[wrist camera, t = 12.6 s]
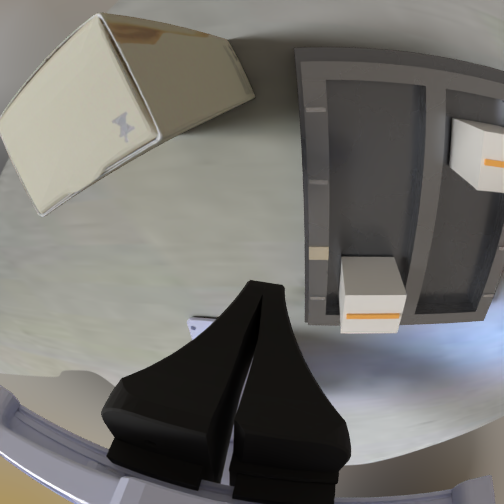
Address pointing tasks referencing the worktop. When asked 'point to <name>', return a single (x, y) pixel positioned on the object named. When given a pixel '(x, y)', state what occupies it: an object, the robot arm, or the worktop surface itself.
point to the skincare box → (114, 101)
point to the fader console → (397, 179)
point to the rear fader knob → (370, 295)
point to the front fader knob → (478, 154)
